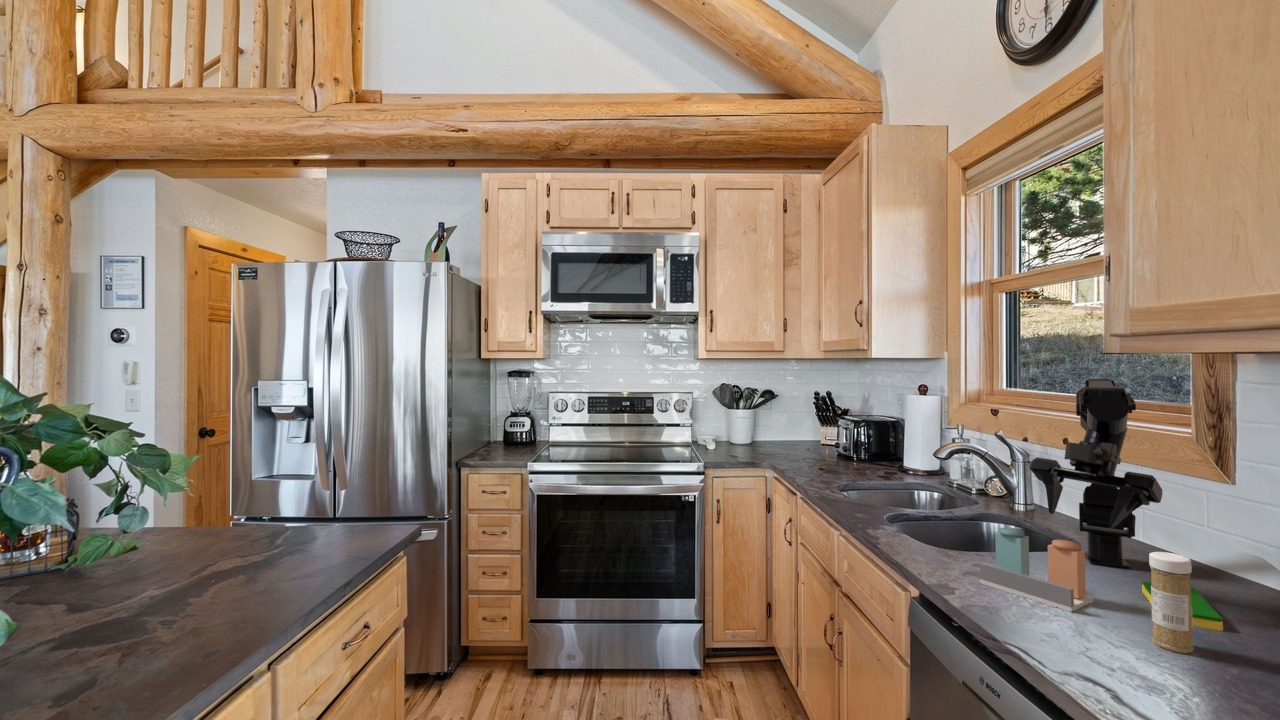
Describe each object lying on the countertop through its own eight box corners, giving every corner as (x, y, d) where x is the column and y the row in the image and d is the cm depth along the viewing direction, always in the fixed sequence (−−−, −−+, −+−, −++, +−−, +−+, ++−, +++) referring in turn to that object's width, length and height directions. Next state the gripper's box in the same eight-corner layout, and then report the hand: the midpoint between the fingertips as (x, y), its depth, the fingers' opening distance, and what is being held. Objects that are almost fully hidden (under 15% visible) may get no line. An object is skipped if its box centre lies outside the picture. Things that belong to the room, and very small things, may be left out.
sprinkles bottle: (1197, 648, 82) (1195, 556, 82) (1188, 657, 79) (1186, 563, 79) (1156, 636, 85) (1154, 548, 86) (1146, 644, 83) (1144, 554, 83)
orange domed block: (1057, 585, 102) (1056, 538, 102) (1087, 594, 98) (1086, 544, 98) (1047, 590, 100) (1046, 541, 100) (1076, 599, 96) (1075, 548, 96)
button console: (1002, 574, 111) (1002, 555, 111) (1093, 601, 98) (1092, 580, 98) (979, 583, 107) (979, 563, 107) (1071, 612, 94) (1070, 589, 94)
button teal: (1005, 570, 110) (1004, 526, 110) (1030, 577, 106) (1029, 531, 106) (994, 574, 108) (993, 529, 108) (1020, 582, 104) (1019, 535, 104)
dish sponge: (1162, 623, 90) (1162, 608, 90) (1141, 593, 102) (1141, 580, 102) (1223, 634, 87) (1223, 618, 87) (1194, 601, 98) (1194, 587, 98)
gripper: (1030, 418, 110) (1006, 488, 106) (1154, 431, 94) (1131, 514, 90) (1051, 445, 115) (1029, 513, 111) (1171, 462, 99) (1151, 542, 95)
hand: (1079, 519), depth 101 cm, fingers open, 9 cm apart
